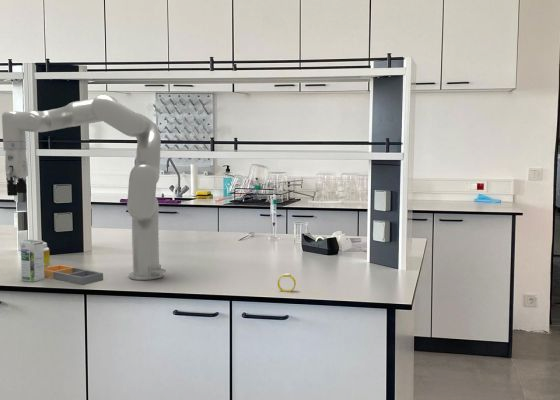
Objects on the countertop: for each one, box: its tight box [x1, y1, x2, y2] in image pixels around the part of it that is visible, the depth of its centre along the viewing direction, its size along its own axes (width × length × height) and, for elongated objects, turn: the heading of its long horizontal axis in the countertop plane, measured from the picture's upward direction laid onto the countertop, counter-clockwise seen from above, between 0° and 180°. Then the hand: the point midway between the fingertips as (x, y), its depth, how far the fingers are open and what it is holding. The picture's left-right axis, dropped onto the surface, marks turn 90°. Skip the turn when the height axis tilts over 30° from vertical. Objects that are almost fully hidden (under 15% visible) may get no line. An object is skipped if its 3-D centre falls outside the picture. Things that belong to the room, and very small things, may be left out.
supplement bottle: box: [43, 241, 51, 268], centre depth 243 cm, size 6×6×10 cm
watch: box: [277, 272, 297, 293], centre depth 207 cm, size 6×3×6 cm, turn 79°
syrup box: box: [20, 239, 46, 283], centre depth 224 cm, size 6×6×14 cm
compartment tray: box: [44, 264, 104, 285], centre depth 228 cm, size 26×9×2 cm, turn 54°
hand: (17, 194), depth 222 cm, fingers open, 9 cm apart
